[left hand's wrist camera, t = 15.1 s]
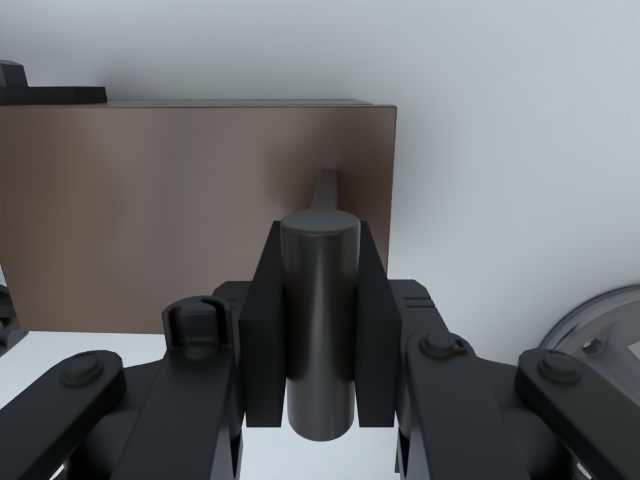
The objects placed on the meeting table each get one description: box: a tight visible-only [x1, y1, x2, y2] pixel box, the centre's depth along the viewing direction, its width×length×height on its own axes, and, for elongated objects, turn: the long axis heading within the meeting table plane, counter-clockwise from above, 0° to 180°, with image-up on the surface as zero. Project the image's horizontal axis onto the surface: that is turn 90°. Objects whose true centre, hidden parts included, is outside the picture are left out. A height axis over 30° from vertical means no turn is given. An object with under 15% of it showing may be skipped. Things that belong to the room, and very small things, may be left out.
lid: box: [0, 105, 397, 442], centre depth 14 cm, size 17×10×9 cm, turn 90°
